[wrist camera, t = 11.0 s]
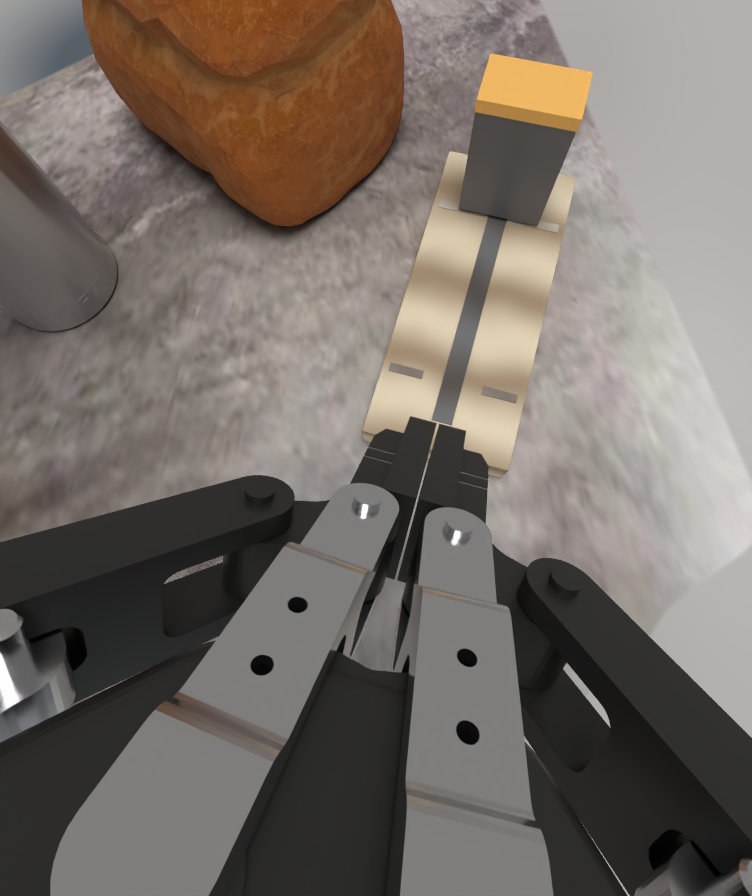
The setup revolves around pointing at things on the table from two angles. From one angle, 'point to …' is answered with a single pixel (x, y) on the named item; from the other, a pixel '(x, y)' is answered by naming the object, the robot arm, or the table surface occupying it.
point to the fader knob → (521, 136)
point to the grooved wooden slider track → (470, 321)
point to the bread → (260, 90)
